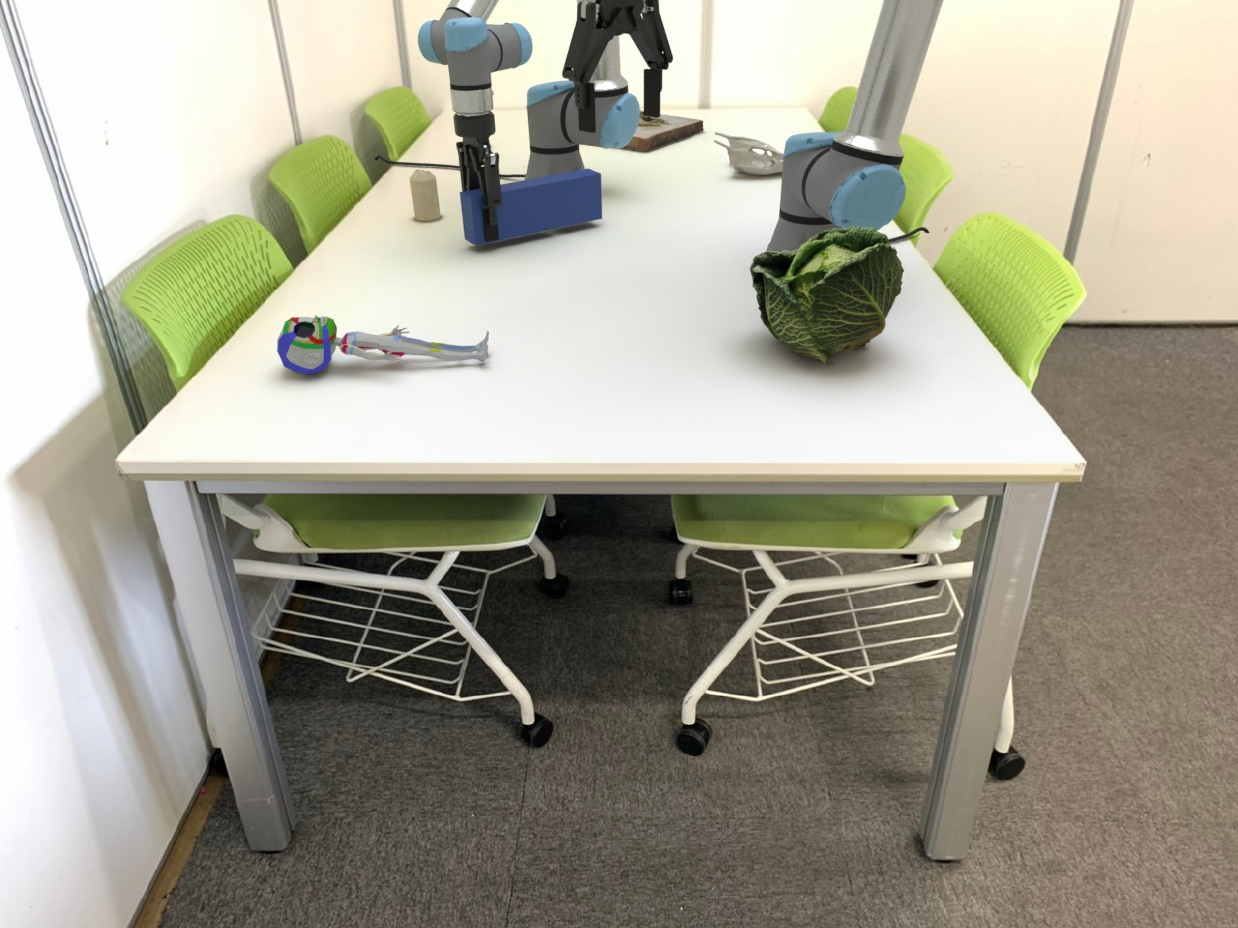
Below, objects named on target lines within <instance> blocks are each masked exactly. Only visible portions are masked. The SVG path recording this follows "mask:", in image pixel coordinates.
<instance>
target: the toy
mask: <svg viewBox="0 0 1238 928" xmlns="http://www.w3.org/2000/svg"><path fill="white" fill-rule="evenodd" d="M399 327H400V325H399V324H398V325H396V326H395V327H394V328H393V329H392V330H391V331H390V332H385V333H381V334H373V333H367V332H363V331H347V332H346V333H345V334H344V335H343V337H337V335H338V334H337V332H338V327H337V325H336V323H335V319H333V318H331V317H328V316H325V315H321V317H319V316H317V315H315V314H314V317H311V316H296V317H295V316H292V317H290V318H289V319H287V320H286V321H284V324H283V325H282V329H281V331H280V333H279V335H278V337H277V338H276V339H277V340H276V352H277V354H278V356H279V358H280V360H281V363H282V365H283V367H284V368H286V369H287V370H290V371H292V372H296V373H300V374H305V375H306V374H307V375H315V374H317V373H319V372H321V371H324V370H326V369H327V368H328V365H329V364H330V363H331V361H332V359H333V355H334V353H335V352H336V349H337V347H338V348H339V351H340V352H341V353H342V354H344V355H345V356H347V355H348V356H349V355H350V356H355V357H359V358H364V359H366V360H369V361H382V360H383V361H384V360H386V361H392V362H396V363H399V364H401V363H402V362H403V361H404V360H403V359H402V357H404V356H405V355H406V356H407V355H409V356H421V357H431V358H436V359H439V360H442V361H446V362H461V361H467V360H474V359H475V360H477V361H479V362H481V363H485V361H486V360H487V357H488V353H489V345H488V342H489V336H490V331H489V330H486V334H485V337H484V339H482V340H481V341H480V342H478V343H477V344H475V345H458V344H450V343H443V342H435V341H430V342H429V341H426V340H422V339H419V338H413V337H407V336H406V335H405V336H404V335H402V334H409V333H410V331H404V330H407V329H408V327H403V328H399ZM372 350H378V351H381V352H382V353H380V352H379V353H378V352H375V351H372Z"/></svg>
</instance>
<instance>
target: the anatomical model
mask: <svg viewBox="0 0 1238 928" xmlns="http://www.w3.org/2000/svg"><path fill="white" fill-rule="evenodd" d="M714 135H715V136H719V137H723V138H725V139H727V140H728V144H729V145H727V144H724V142H721V141H719V140H716V139H713V142H714V143H715V144H717V145H719V146H721V147H723V148H725V149H726V150H727V156H728V159H729V166H731V167H733V168H734V170H736V171H737V172H744V173H746V174H748V175H750V176H751V175H752V176H767V175H773V174H777V173H782V170H783V155H784V152H780V151H778V150H777V149H776V148H775V147H774V146H772V145H770V144H769V143H765V142H764V141H760V140H758V139H754V138H751V137H745V136H738V135H737V136H734V135H731V134H730V135H729V134H726V133H722V132H718V131H715V132H714ZM754 150H762V151H763V152H764V153H762V154H761V153H758V152H756V151H754ZM768 152H770V154H768Z"/></svg>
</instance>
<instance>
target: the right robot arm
mask: <svg viewBox="0 0 1238 928" xmlns="http://www.w3.org/2000/svg"><path fill="white" fill-rule="evenodd" d="M944 1H945V0H882V5H881V8H880V11H879V14H878V19H877V23H876V25H875V29H874V32H873V36H872V38H871V42H870V46H869V49H868V52H867V56H866V59H865V63H864V66H863V70H862V73H861V76H860V80H859V83H858V87H857V91H856V93H855V96H854V101H853V104H852V107H851V111H850V115H849V118H848V121H847V125H846V128H845V129H843V131H841V132H840V131H817V132H816V131H815V132H804V133H797V134H796V133H795V134H793V135H791V136H789V137H788V138H787V140H786V141H785V145H784V150H783V153H784V155H783V170H782V172H781V184H780V185H781V186H780V197H779V198H780V199H779V211H778V212H779V213H778V218H777V219H778V220H777V222H776V225H775V226H774V230H773V233H772V236H771V239H770V241H769V243H768V244H767V247H766V251H765V252H767V251H775V252H776V251H781V252H791V251H793V250H796V249H798V248H800V246H801V245H802V244H804V243H806V241H807V240H808V239H809V238H811V237H813V236H815V235H817V234H818V233H820V232H822V231H825V230H831V229H834V228H838V229H841V228H848V227H850V226H852V225H856V226H855V227H857V226H861V227H873V228H876V230H877V231H878V232H879V231H880V230H881V229H882V228H884V226H887V225H888V224H890V223H891V222H892V221H893V220H894V219H895V218H896V216H897V215H898V214H899V212H900V210H901V209H902V207H903V205H904V201H905V198H906V194H907V185H906V183H905V181H904V177H903V175H902V173H901V172H900V169H901V167H902V163H903V160H904V157H905V150H904V149H903V147H902V145H901V143H900V138H901V136H902V132H903V129H904V126H905V123H906V120H907V117H908V113H909V110H910V107H911V105H912V100H913V97H914V95H915V92H916V88H917V86H918V82H919V80H920V76H921V72H922V69H923V66H924V63H925V60H926V57H927V55H928V51H929V48H930V44H931V41H932V38H933V35H934V32H935V28H936V25H937V23H938V19H939V17H940V13H941V10H942V7H943V3H944ZM595 20H596V21H595ZM602 28H603V29H602ZM624 34H625V35H629V36H630V38H631V40H632V42H633V43H634V45H635V46H636V48H637V50H638V52H639V53H640V55H641V57H642V58H643V60H644V62H645V63H646V65H647V67H648V68H644V69H643V111H644V116H650V117H655V118H658V117H660V114H661V93H662V91H663V71H667V70H668V69H669V68H670V64H671V63H673V61H674V55H673V52H672V48H671V45H670V43H669V39H668V35H667V33H666V29H665V25H664V23H663V20H662V16H661V13H660V0H595V3H593V2H579V3H578V5H577V4H576V21H575V24H574V29H573V32H572V36H571V39H570V42H569V47H568V50H567V54H566V57H565V61H564V64H563V68H562V70H561V71H562V72H561V76H562V78H563V79H566V80H569V81H572V82H574V85H575V104H576V107H578V117H579V130H580V131H584V132H589V133H595V132H596V117H595V83H591V82H589V81H590V79H591V77H592V75H593V73H594V71H595V69H596V67H597V65H598V63H599V61H600V59H601V57H602V55H603V52H604V50H605V48H606V46H607V44H608V42H609V41H610V40H612V39H613V37H614V36H619V37H620V36H622V35H624ZM919 232H924V233H925V234H930V233H931V232H930V231H929V229H928V228H926V227H924V226H920V227H917V228H915V229H913V230H912V231H910V232H908V233H905V234H902V235H899V236H895V237H892V238H888V239H889V243H894V242H897V241H901V240H904V239H907V238H910V237H912V236H914V235H915V234H917V233H919Z"/></svg>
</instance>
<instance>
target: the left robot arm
mask: <svg viewBox="0 0 1238 928" xmlns="http://www.w3.org/2000/svg"><path fill="white" fill-rule="evenodd" d="M499 2H500V0H450V1H449V3H448V4H447V7H446V8H445V10H444V12H443V13H442V14H441V17H440V18H439V19H438V20H437V19H432V20H428V21H425V22H424V23H422V24H421V26H420V27H419V30H418V34H417V45H418V49H419V52H420V54H421V56H422V57H423V58H424V59H425V60H426V61H427V62H430V63H433V64H439V65H442V66H447V68H448V77H449V93H450V102H451V103H450V104H451V110H452V111H453V112H454V114H453V116H452V117H453V127H454V134H455V135H456V136H457V137H459V138H462V140H461V141H457V142H456V143H455V147H456V151H457V155H458V163H459V165H455V164H444V163H429V162H427V163H426V162H409V161H408V162H407V161H395V160H394V161H393V160H388V159H386V158H385V157H384V156H382V155H377V156H375V158H374V161H379V159H380V160H382V161H383V162H384V163H386V164H390V165H400V166H414V167H415V166H416V167H436V168H448V169H449V168H450V169H458V170H459V175H460V183H461V185H460V186H461V192H463V191H468V190H474V189H479V188H480V189H481V194H482V199H483V204H484V206H481V209H482V216H483V226H484V237H485V242H490V241H495V240H499V233H498V222H497V210H496V207H498V206H502V197H501V186H500V185H501V178H504V179H505V178H508V179H509V178H510V179H511V178H524V180H528V179H534V178H539V177H545V176H550V175H555V174H561V173H566V172H572V171H577V170H583V169H586V168H585V164H584V161H583V158H582V156H581V153H580V146H589V147H597V148H602V149H606V150H608V149H618V150H619V149H624V148H623V147H624V146H626V145H627V144H628V143H629V142H630V141H631V139H632V138H633V136H634V134H635V132H636V129H637V126H638V123H639V116H640V110H641V108H640V102H639V100H638V97H637V96H635V95H634V94H633V93H632V92H631V93H629V82H628V80H627V79H626V78H625V77H624V76H623V75H622V70H621V69H622V68H621V47H620V45H621V44H620V35H619V36H614V37H613V39H612V40H610V41H609V42H608V44H607V46H606V48H605V50H604V52H603V55H602V57H601V59H600V61H599V63H598V65H597V67H596V69H595V71H594V73H593V75H592V77H591V79H590V81H589V82H591V83H595V117H596V132H595V133H589V132H584V131H580V130H579V117H578V107H576V104H575V85H574V82H572V81H569V79H566V80H557V81H549V82H545V83H539V84H535V85H532V86H531V87H529V88H528V90H527V92H526V105H525V106H526V107H525V108H526V113H527V114H526V115H527V127H528V140H529V141H528V142H529V157H528V162H527V168H526V172H525V174H520V173H519V174H518V173H517V174H516V173H515V174H512V173H511V174H501V173H500V165H499V164H500V154H499V152H493V151H492V145H491V142H490V137H492V136H493V135H495V134H496V130H497V129H496V117H495V113H494V112H493V110H494V99H493V98H494V97H493V96H494V94H495V92H494V91H493V84H492V73H495V72H500V71H505V70H511V69H513V70H514V69H517V68H518V67H520V66H523V65H525V64H526V63H528V62H529V60H530V59H531V57H532V54H533V51H534V48H533V47H534V45H533V39H532V36H531V34H530V32H529V30H528V29H527V28H526V26H524V25H522V24H520V23H518V22H504V23H502V24H494V23H493V24H492V23H491V24H489V23H487V21H488V20H489V19H490V16H491V15H492V13H493V11H494V10H495V8H496V7H497V5H498V3H499ZM579 2H593V3H595V0H576V6H577V5H578V3H579ZM595 21H596V20H595ZM602 29H603V28H602Z"/></svg>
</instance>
